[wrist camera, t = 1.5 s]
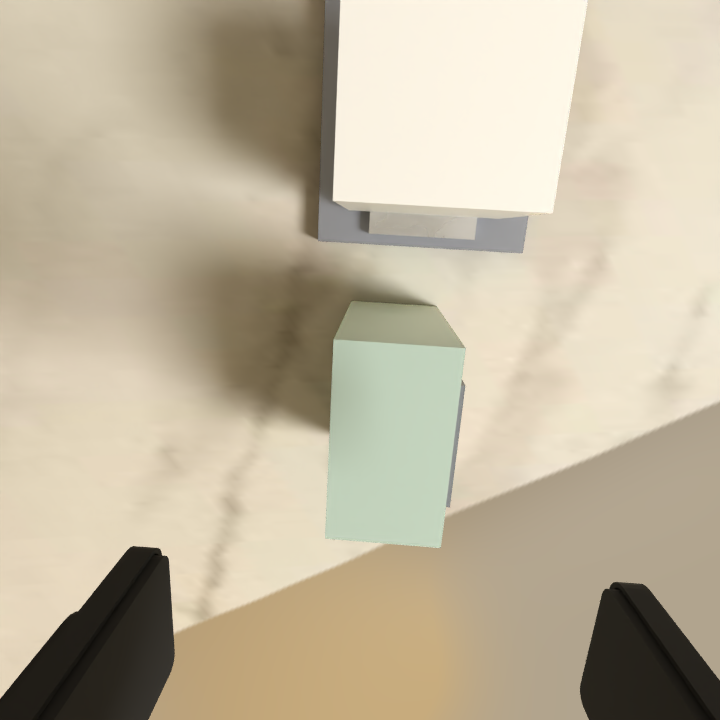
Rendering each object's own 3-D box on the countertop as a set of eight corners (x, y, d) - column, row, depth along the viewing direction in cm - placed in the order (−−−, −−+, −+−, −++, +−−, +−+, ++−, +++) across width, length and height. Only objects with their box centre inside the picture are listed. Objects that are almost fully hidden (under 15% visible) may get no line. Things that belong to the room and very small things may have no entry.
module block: (441, 306, 24) (473, 348, 15) (426, 443, 26) (447, 548, 18) (351, 300, 24) (333, 339, 16) (344, 437, 26) (325, 538, 18)
